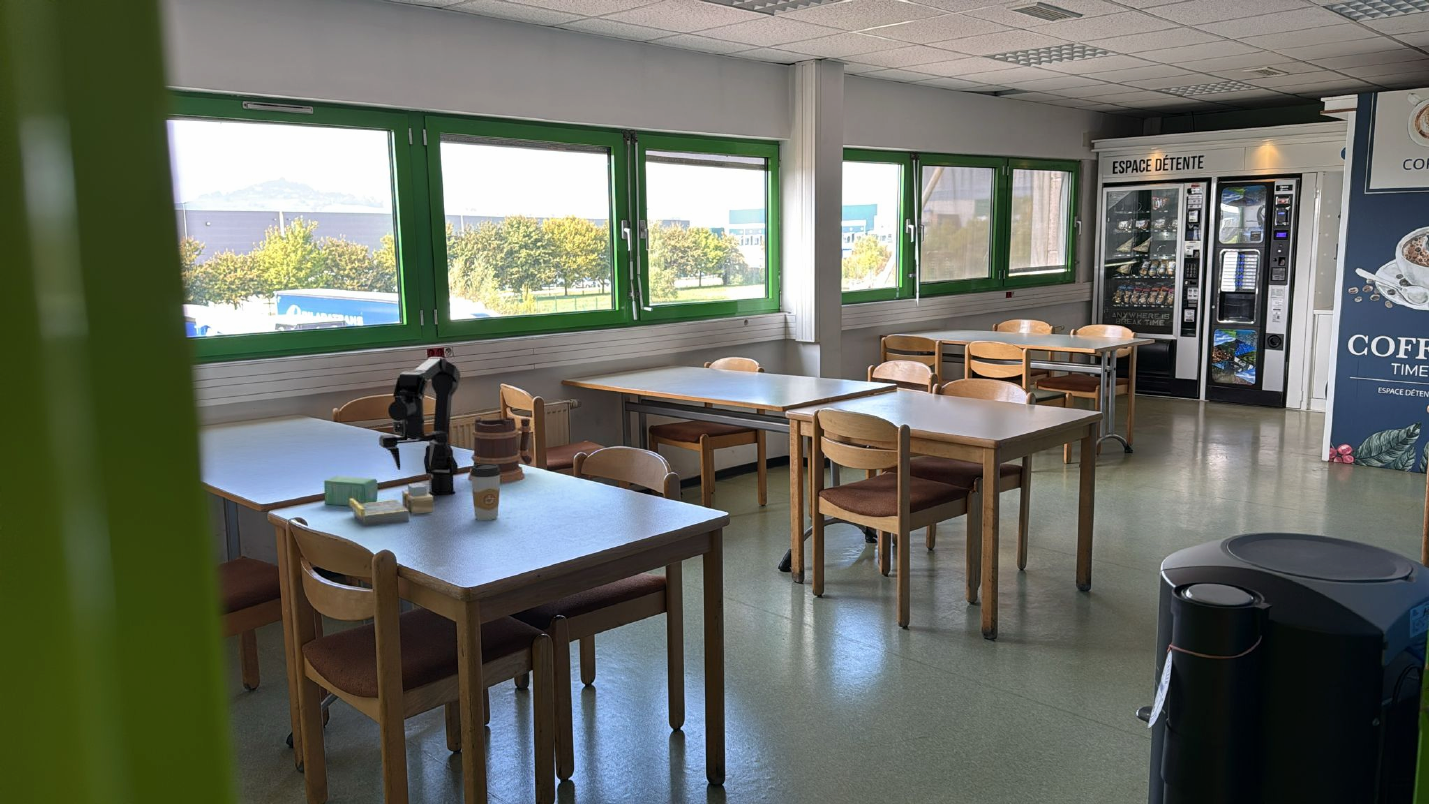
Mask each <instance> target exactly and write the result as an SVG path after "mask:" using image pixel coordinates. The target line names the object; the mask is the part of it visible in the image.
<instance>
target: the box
mask: <svg viewBox="0 0 1429 804" xmlns="http://www.w3.org/2000/svg"><path fill="white" fill-rule="evenodd" d="M323 482H324V483H323V484H324V504H325V505H336V506H347V507H351V506H350V501H349V498H353V499H355V500H356V501H357V502H358V503H359V504H363V503H371V502H378V494H379V493H378V492H379V491H378V480H377V479H376V478H369V477H357V476H356V477H355V476H339V475H337V476H334V477H331V478H328V479H325V480H324V481H323Z"/></svg>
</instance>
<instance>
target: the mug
mask: <svg viewBox="0 0 1429 804" xmlns="http://www.w3.org/2000/svg"><path fill="white" fill-rule="evenodd" d="M530 423H531V420H530V418H527V417H526V418H524V417H523V418H521V419H520V424H521V425H520V426H519V427H516V425H517V424H516V419H515V418H514V417H511V416H507V417H505V418H504V417H503V418H498V419H482V418H481V417H475V419H474V430H472V432H471V433H472V436H473V437H474V443H473V445H474V446H473V447H474V448H473V454H471V460H472V461H473V466H474V465H477V464H497V465H498V466H499V469H500V473H501V474H500V482H499V484H506V483H507V484H508V483H514V482H517V481H521V480H523V479H525V474H524V472H523V471H524V469H523V467H522V466H520V465H519V464H520V463H519V460H520V458H521V460H522V462H524V464H526V466H528V465H530V464H531V463H532V461H533V458H532V456H530V454H529V450H528V445H529V444H528V442H529V437H530V432H531V429H532V426H531V425H530ZM519 432H521V433H520V434H521V435H520V442H519V450H518V440H517V439H518V437H517V436H518V435H519ZM471 470H472V468H470V469H469V475H468V477H467V480H468V481H470V482H472V479H471V475H470V474H471Z"/></svg>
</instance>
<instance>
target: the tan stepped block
mask: <svg viewBox="0 0 1429 804" xmlns="http://www.w3.org/2000/svg"><path fill="white" fill-rule="evenodd" d="M401 495H402V496H401V497H402V505H403V506H404V507H405V508H406V509H407V510H409V511H410V513H411V514H412V515H415V514H425V513H432V512H434V496H433V495H432V494H430V493H429V491H427V495H419V496H412V495H411V494H409V493H408V489H407V490H401Z"/></svg>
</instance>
